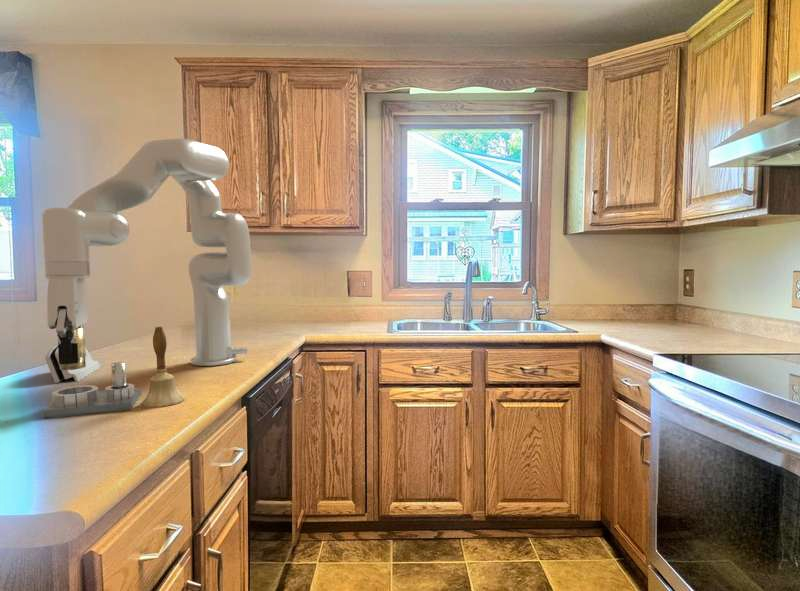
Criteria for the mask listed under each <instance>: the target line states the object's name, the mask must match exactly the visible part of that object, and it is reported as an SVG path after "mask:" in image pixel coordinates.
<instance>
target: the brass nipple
mask: <svg viewBox="0 0 800 591" xmlns="http://www.w3.org/2000/svg"><path fill="white" fill-rule="evenodd" d="M83 327H84V326H83ZM83 327H77V328H76V342H75V343H78V359H79V362H78V363H75V364H60V370H75V369H81V368H84V367H86V362H85V347H86V342H85V343H84V339H85V327H84V328H83ZM69 332H70V335H71V331H69Z"/></svg>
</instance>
